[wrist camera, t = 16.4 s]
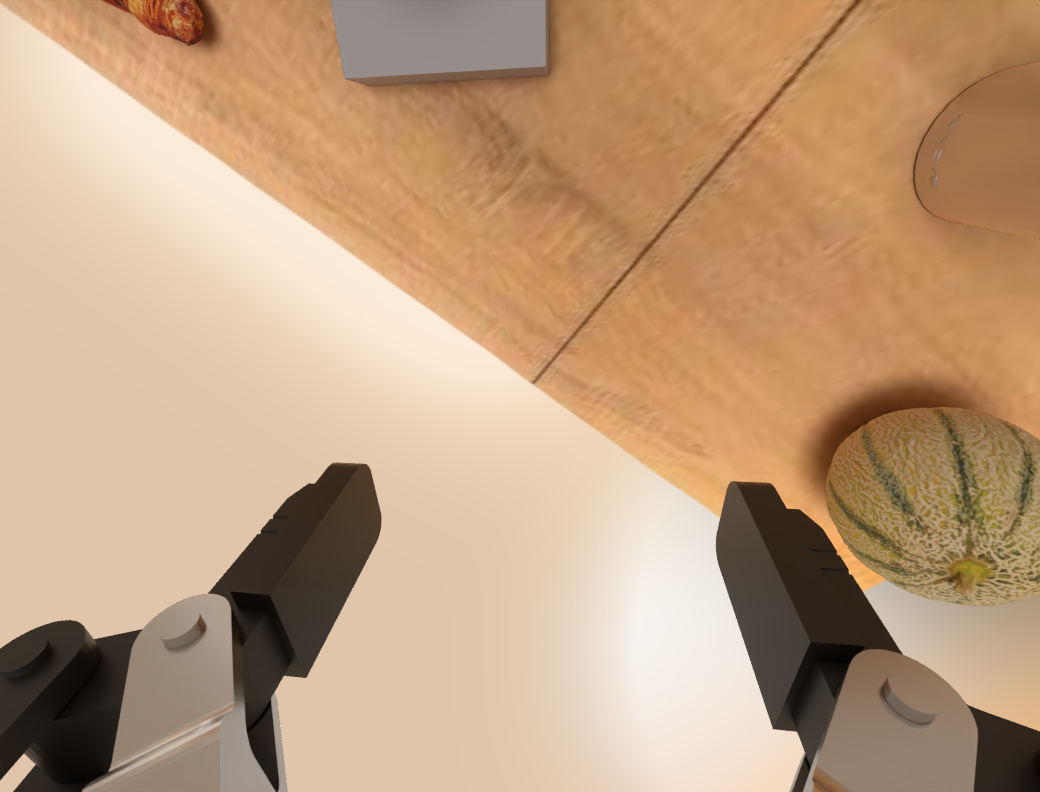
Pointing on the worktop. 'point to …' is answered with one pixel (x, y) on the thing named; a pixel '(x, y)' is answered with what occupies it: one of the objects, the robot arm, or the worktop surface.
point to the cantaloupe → (942, 504)
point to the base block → (441, 40)
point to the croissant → (167, 17)
